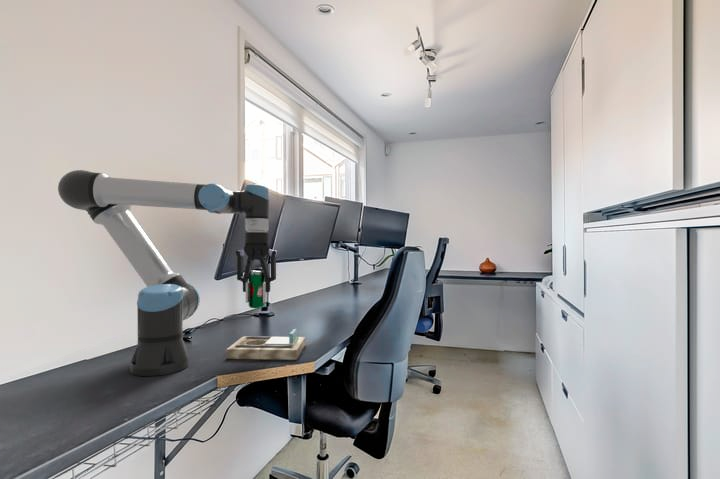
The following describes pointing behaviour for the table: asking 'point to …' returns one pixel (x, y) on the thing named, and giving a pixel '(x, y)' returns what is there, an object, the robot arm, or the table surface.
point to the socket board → (264, 349)
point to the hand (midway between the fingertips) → (256, 301)
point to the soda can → (256, 289)
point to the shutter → (284, 339)
